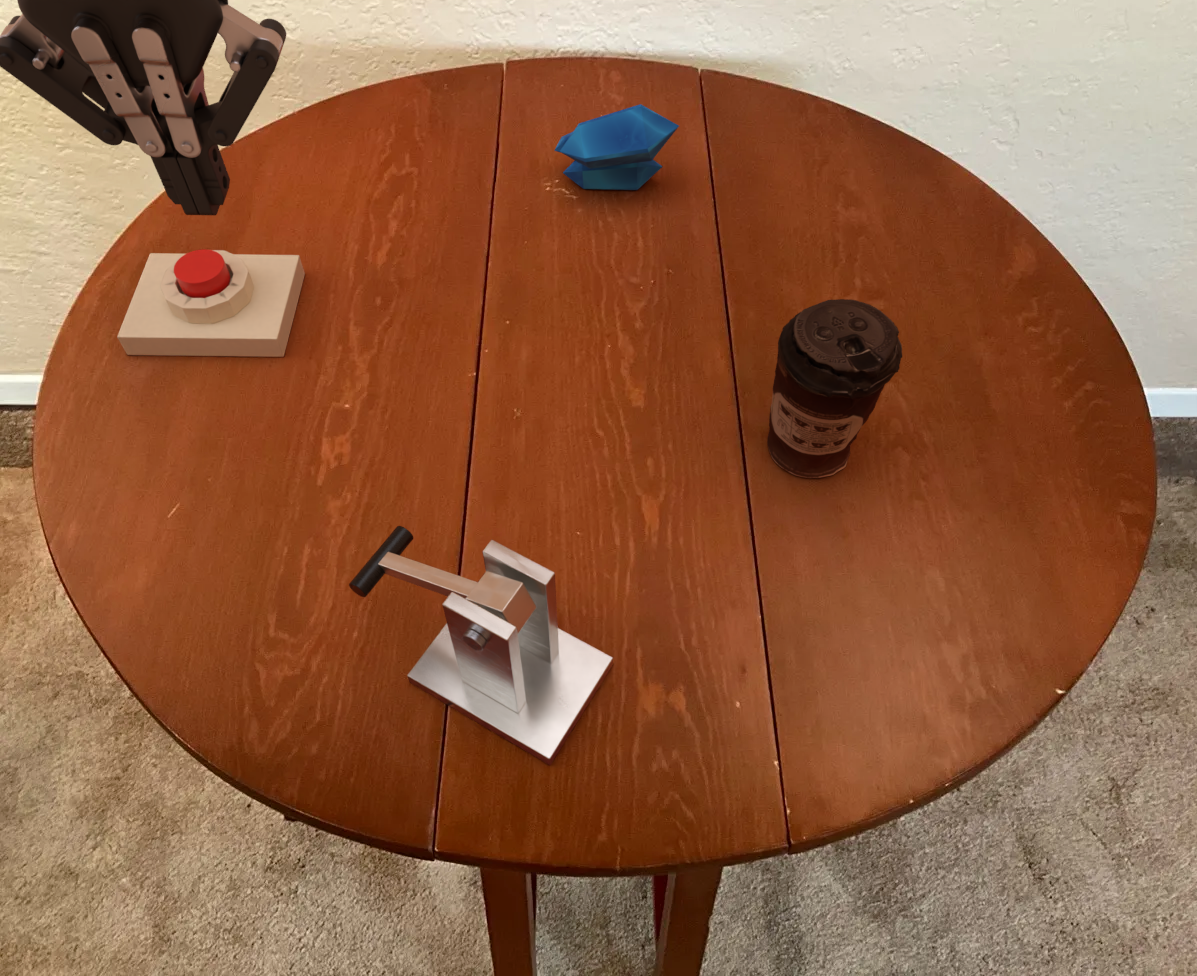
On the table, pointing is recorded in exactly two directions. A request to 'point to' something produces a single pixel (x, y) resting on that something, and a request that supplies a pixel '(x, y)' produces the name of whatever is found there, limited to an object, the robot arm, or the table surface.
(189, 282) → the button
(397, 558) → the lever
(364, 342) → the table surface
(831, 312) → the coffee cup
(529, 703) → the bracket
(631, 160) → the crystal
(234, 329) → the button box
